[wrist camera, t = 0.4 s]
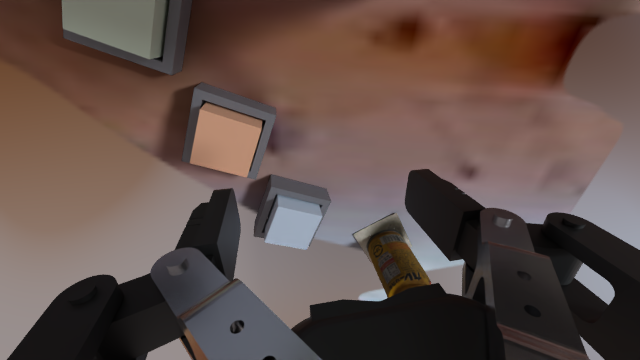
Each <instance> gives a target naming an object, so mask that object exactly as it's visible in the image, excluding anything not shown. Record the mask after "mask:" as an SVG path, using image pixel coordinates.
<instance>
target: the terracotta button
mask: <svg viewBox="0 0 640 360" xmlns="http://www.w3.org/2000/svg"><path fill="white" fill-rule="evenodd" d="M261 129H262V119H259V118H256V117H253V116H250V115H247V114H244V113H241V112H238V111H235V110H232V109H229V108H226V107H223V106H220V105H217V104H214V103H211V102H208V101H207V102H206V103H205V104H204V105H203V106H202V108H201V109H200V112H199V117H198V122H197V127H196V133H195V138H194V143H193V148H192V154H191V159H190V163H191V164H195V165H199V166H203V167H207V168H211V169H215V170H219V171H223V172H227V173H231V174H235V175H239V176H243V177H247V176H248V172H249V169H250V166H251V162H252V159H253V156H254V153H255V149H256V146H257V143H258V139H259V136H260V133H261Z"/></svg>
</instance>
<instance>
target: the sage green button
mask: <svg viewBox="0 0 640 360" xmlns="http://www.w3.org/2000/svg"><path fill="white" fill-rule="evenodd" d="M169 3H170V0H62V21H63V29H65V30H68V31H71V32H74V33H76V34H79V35H82V36H85V37H88V38H90V39H93V40H96V41H99V42H102V43H105V44H107V45H110V46H113V47H116V48H119V49H122V50H124V51H127V52H130V53H133V54H136V55H138V56H141V57H144V58H147V59H153V58H158V57H162V56H163V54H164V45H165V37H166V28H167V20H168V11H169Z"/></svg>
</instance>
